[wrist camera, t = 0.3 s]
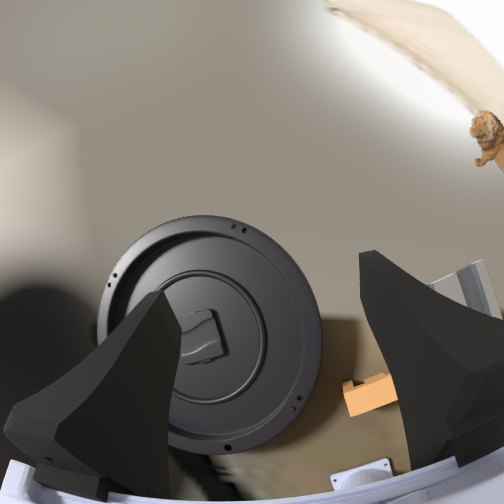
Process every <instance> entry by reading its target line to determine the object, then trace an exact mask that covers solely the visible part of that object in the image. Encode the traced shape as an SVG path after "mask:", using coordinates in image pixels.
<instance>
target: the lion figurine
mask: <svg viewBox="0 0 504 504" xmlns="http://www.w3.org/2000/svg"><path fill="white" fill-rule="evenodd" d="M470 135H471V137H473V138H476V139H477V140H478V141H477V142H478V144H479V146H480V147H482V153H483V154H482V157H481V159H479V158H477V159H475V164H476V166H479V167H481V166H483V165H485V164H486V162H488V161H490V160H493V159H494V160H495V161H496V163H497V164H498V166H499V167H500V168H501V170H502V171H503V172H504V127H503V124H501V122H500V120H498V118H497V117H496V116H495V115H494V114H493V113H492V112H488V111H482V112H481V111H478V113H477V114H476V115H475V116H474V117H473V119H472V127H471V128H470Z"/></svg>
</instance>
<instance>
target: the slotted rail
mask: <svg viewBox="0 0 504 504" xmlns="http://www.w3.org/2000/svg"><path fill="white" fill-rule="evenodd" d="M427 286H428V287H430V288H431V289H433V290H435V291H437V292H438V293H440V294H442V295H444V296H446V297H448V298H450V299H452V300H454V301H456V302H458V303H460V304H462V305H464V306H466V307H469V308H471V309H474V310H476V311H479V312H481V313H484V314H487V315H490V316H492V317H496V318H499V319H502V315H501V311H500V308H499V304H498V301H497V297H496V294H495V291H494V288H493V285H492V282H491V279H490V276H489V273H488V270H487V267H486V264H485V261H484V259H480V260H478V261H476V262H473V263H471V264H469V265H467V266H465V267H463V268H461V269H459V270H457V271H455V272H453V273H451V274H449V275H447V276H445V277H443V278H441V279H439V280H437V281H434V282H432V283H430V284H428V285H427ZM502 320H503V319H502Z"/></svg>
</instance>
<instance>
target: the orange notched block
mask: <svg viewBox="0 0 504 504" xmlns="http://www.w3.org/2000/svg"><path fill="white" fill-rule="evenodd" d="M364 382H365V383H364V384H361V385H358V386H356V387H354V385H353V382H352V380H349V381H346V382H344V383H343V394H344V397H345V400H346V403H347V406H348V410H349V413H350V416H351V417H353V416H356V415H359V414H361V413H364V412H367V411H370V410H372V409H375V408H378V407H380V406H383V405H386V404H388V403H391V402H393V401H396V400H398V398H397V395H396V391H395V387H394V384H393V380H392V377H391V374H390V373H389V374H387V375H385V374H384V373H380V374H378V375H375V376H372V377H370V378H367V379H365V380H364Z"/></svg>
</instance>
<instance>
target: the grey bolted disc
mask: <svg viewBox="0 0 504 504" xmlns="http://www.w3.org/2000/svg"><path fill="white" fill-rule="evenodd" d="M160 290H163V291H164V293H165V295H166V297H167V299H168V301H169V303H170V306H171V308H172V310H173V312H174V314H175V316H176V318H177V320H178V322H179V324H180V326H181V328H182V336H181V351H180V357H179V362H178V367H177V372H176V377H175V382H174V387H173V392H172V397H171V403H170V410H169V425H168V444H169V445H171V446H173V447H176V448H179V449H182V450H185V451H188V452H193V453H198V454H206V455H226V454H233V453H238V452H243V451H246V450H249V449H252V448H255V447H257V446H259V445H261V444H263V443H265V442H267V441H269V440H271V439H272V438H274V437H275V436H277V435H278V434H279V433H281V432H282V431H283V430H284V429H285V428H286V427H287V426H288V425H290V424H291V422H292V421H293V420H294V419H295V418H296V417H297V416H298V414H299V413H300V412H301V410H302V409H303V407H304V406H305V404H306V403H307V401H308V399H309V397H310V395H311V393H312V391H313V389H314V386H315V384H316V381H317V378H318V374H319V370H320V365H321V359H322V350H323V334H322V324H321V318H320V313H319V309H318V305H317V302H316V299H315V296H314V294H313V291H312V289H311V287H310V285H309V283H308V281H307V279H306V277H305V275H304V274H303V272H302V271H301V269H300V268H299V266H298V265H297V264H296V262H295V261H294V260H293V259H292V257H291V256H290V255H289V254H288V253H287V252H286V251H285V250H284V249H283V248H282V247H281V246H280V245H279V244H278V243H277V242H276V241H274V240H273V239H272V238H270V237H269V236H268V235H266V234H265V233H263V232H261V231H260V230H258V229H256V228H254V227H252V226H250V225H248V224H245V223H243V222H240V221H238V220H234V219H231V218H226V217H221V216H213V215H195V216H187V217H182V218H178V219H175V220H171V221H169V222H166V223H164V224H161V225H159V226H157V227H155V228H153V229H152V230H150V231H148V232H147V233H145V234H144V235H143V236H141V237H140V238H139V239H138V240H136V241H135V242H134V243H133V244H132V245H131V246H130V247H129V248H128V249H127V250H126V251H125V253H124V254H123V255H122V256H121V258H120V259H119V260H118V262H117V263H116V265H115V266H114V268H113V270H112V272H111V273H110V276H109V278H108V280H107V282H106V285H105V287H104V290H103V293H102V297H101V301H100V305H99V310H98V319H97V341H98V346H99V345H100V344H101V343H102V342H103V341H104V340H105V339H106V338H107V337H108V336H109V335H110V334H111V333H112V332H113V331H114V330H115V328H116V327H117V326H118V325H119V324H120V323H121V322H122V321H123V320H124V318H125V317H126V316H127V315H128V314H129V313H130V312H131V311H132V309H133V308H134V307H135V306H136V305H137V304H138V303H139V302H140V301H141V300H142V299H143V298H144V297H145V296H146V295H147V294H148V293H149V292H154V291H160Z"/></svg>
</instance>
